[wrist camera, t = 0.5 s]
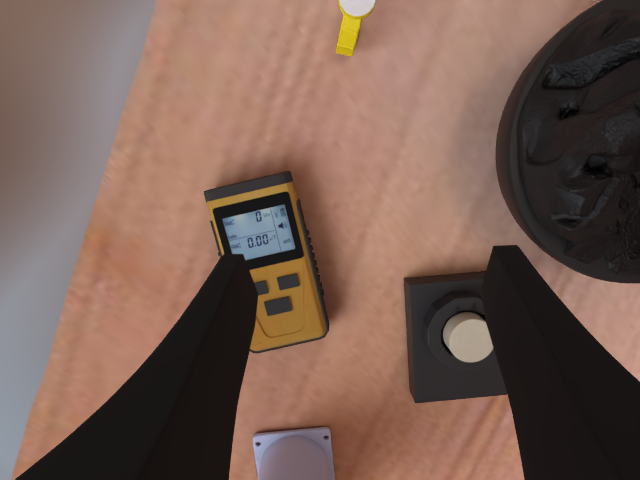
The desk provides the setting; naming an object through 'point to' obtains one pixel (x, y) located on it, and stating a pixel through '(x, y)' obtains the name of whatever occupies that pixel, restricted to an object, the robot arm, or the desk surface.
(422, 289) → the switch box
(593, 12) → the coal bowl
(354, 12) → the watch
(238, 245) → the electronic device
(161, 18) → the desk surface
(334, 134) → the desk surface
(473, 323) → the power button
